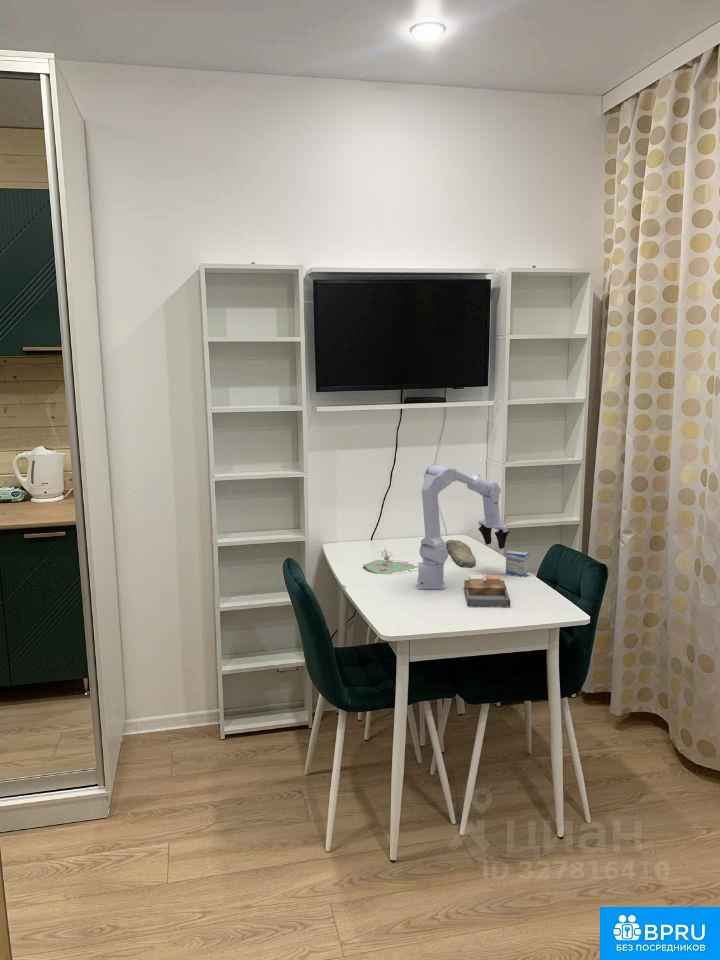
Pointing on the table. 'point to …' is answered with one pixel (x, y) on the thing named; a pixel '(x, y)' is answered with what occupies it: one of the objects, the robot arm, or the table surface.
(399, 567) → the plant
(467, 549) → the elongated rock
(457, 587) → the table surface
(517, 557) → the medicine box
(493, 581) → the terracotta tile
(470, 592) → the walnut board
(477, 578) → the cream tile
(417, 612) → the table surface
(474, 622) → the table surface
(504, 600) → the bin
